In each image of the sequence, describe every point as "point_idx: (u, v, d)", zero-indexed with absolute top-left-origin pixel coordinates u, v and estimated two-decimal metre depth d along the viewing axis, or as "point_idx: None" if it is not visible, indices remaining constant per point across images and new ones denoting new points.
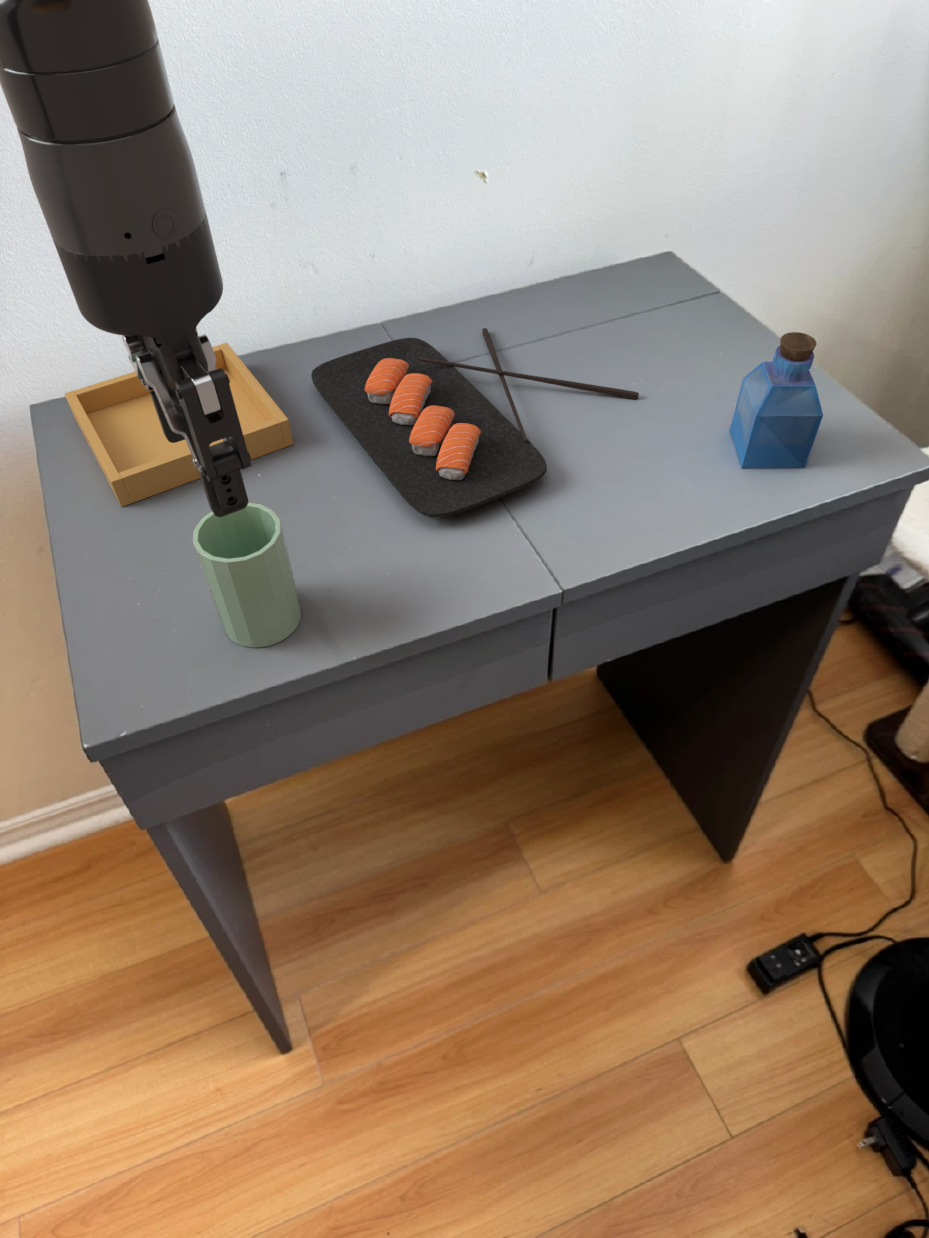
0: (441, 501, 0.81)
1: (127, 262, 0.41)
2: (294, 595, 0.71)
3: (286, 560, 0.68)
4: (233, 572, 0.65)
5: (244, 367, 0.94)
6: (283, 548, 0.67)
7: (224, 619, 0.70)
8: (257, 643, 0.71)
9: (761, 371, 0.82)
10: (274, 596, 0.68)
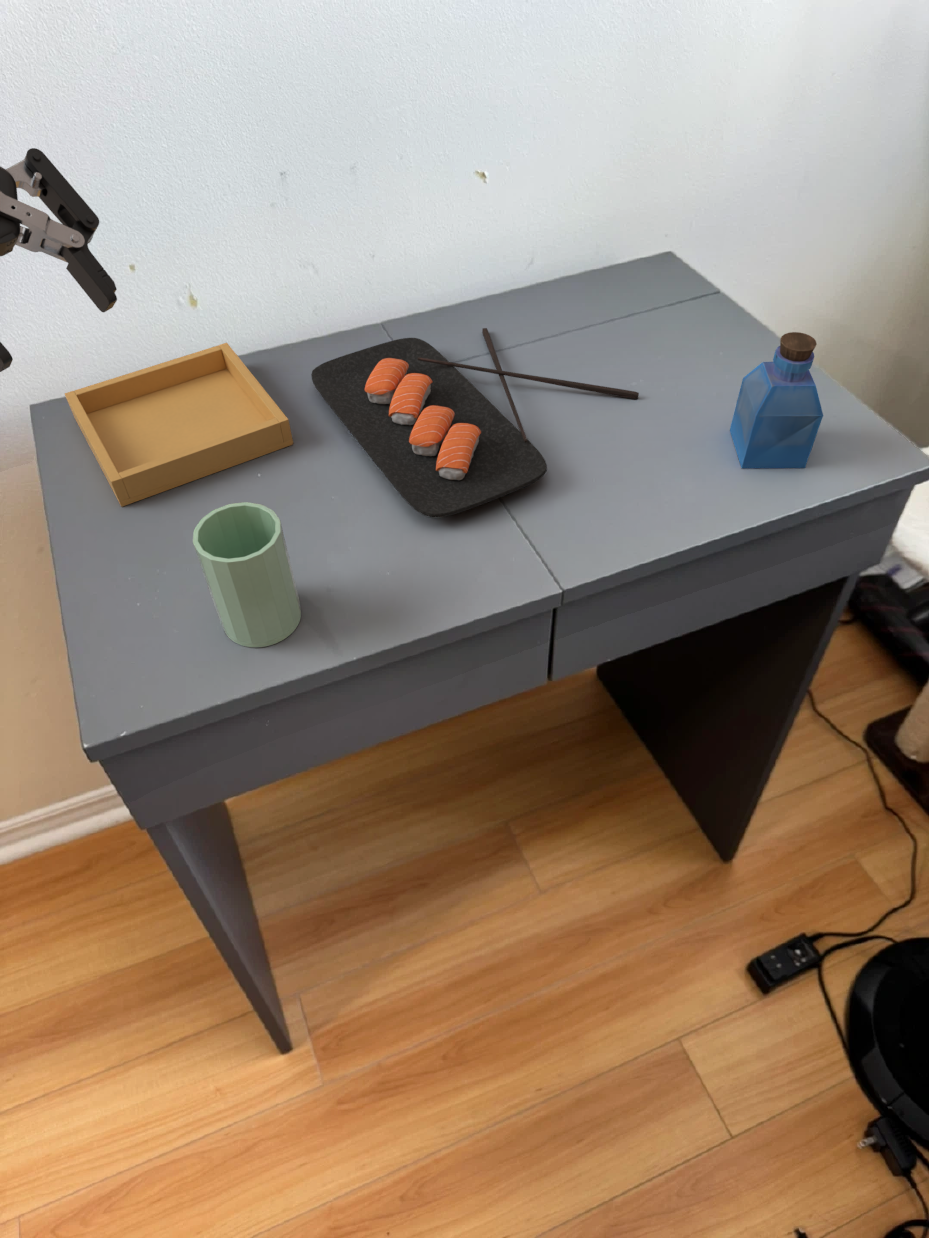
0: (441, 501, 0.81)
1: None
2: (294, 595, 0.71)
3: (286, 560, 0.68)
4: (233, 572, 0.65)
5: (244, 367, 0.94)
6: (283, 548, 0.67)
7: (224, 619, 0.70)
8: (257, 643, 0.71)
9: (761, 371, 0.82)
10: (274, 596, 0.68)
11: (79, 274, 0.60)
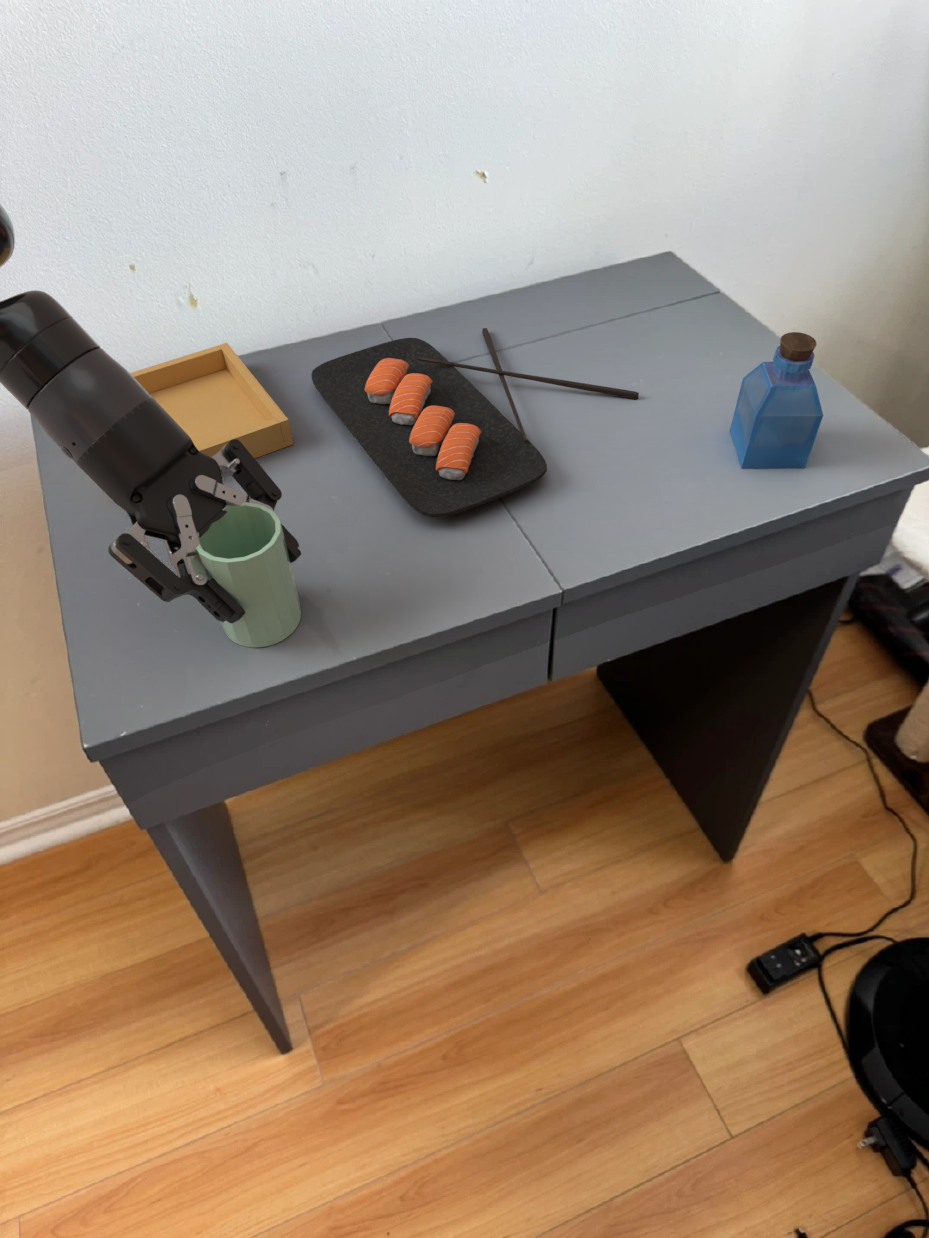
0: (441, 501, 0.81)
1: None
2: (294, 595, 0.71)
3: (286, 560, 0.68)
4: (233, 572, 0.65)
5: (244, 367, 0.94)
6: (283, 548, 0.67)
7: None
8: (257, 643, 0.71)
9: (761, 371, 0.82)
10: (274, 596, 0.68)
11: None
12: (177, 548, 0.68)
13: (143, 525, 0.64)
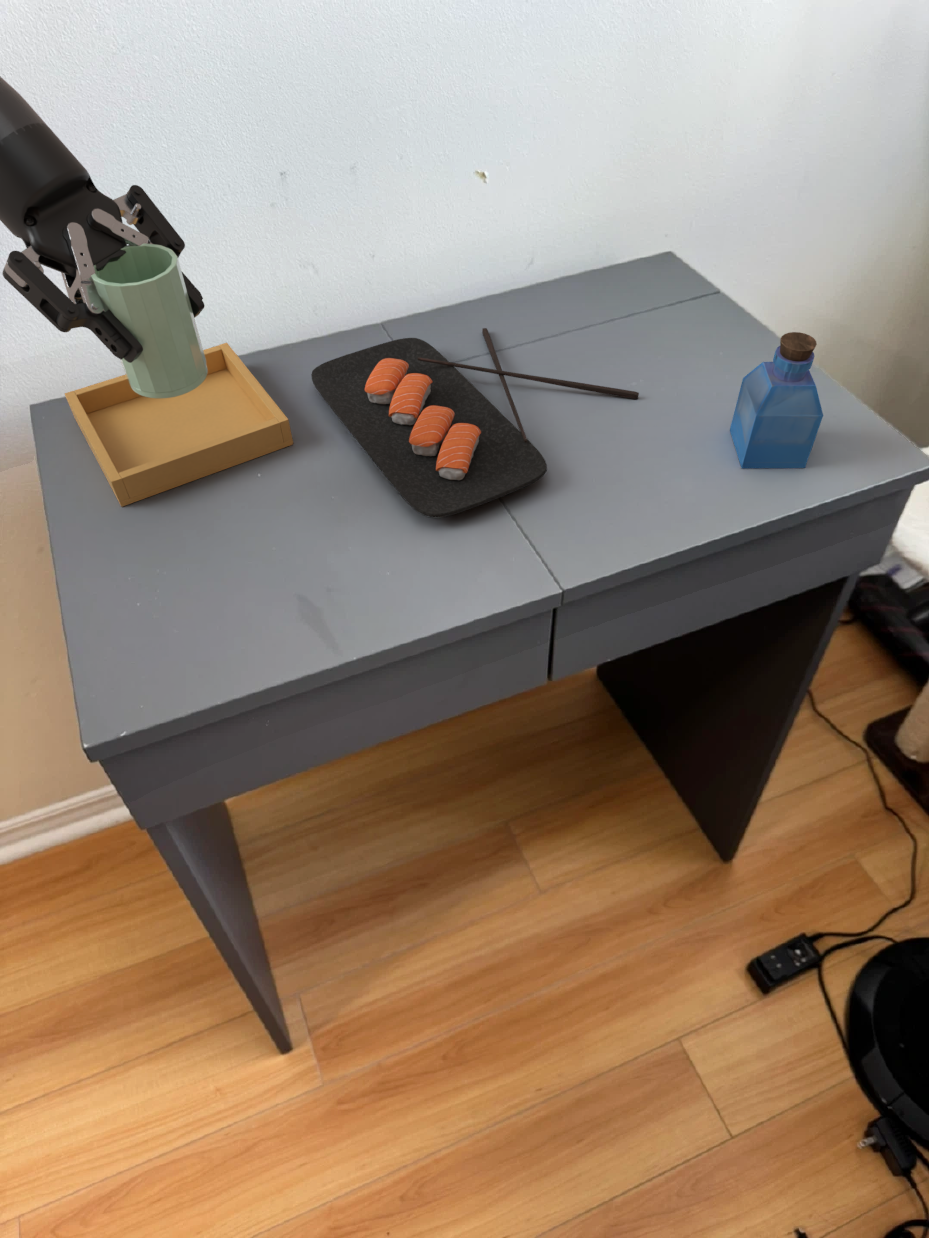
0: (441, 501, 0.81)
1: None
2: (197, 345, 0.72)
3: (185, 300, 0.69)
4: (127, 299, 0.66)
5: (244, 367, 0.94)
6: (180, 285, 0.68)
7: (126, 365, 0.71)
8: (160, 392, 0.72)
9: (761, 371, 0.82)
10: (173, 336, 0.69)
11: None
12: None
13: (37, 249, 0.65)
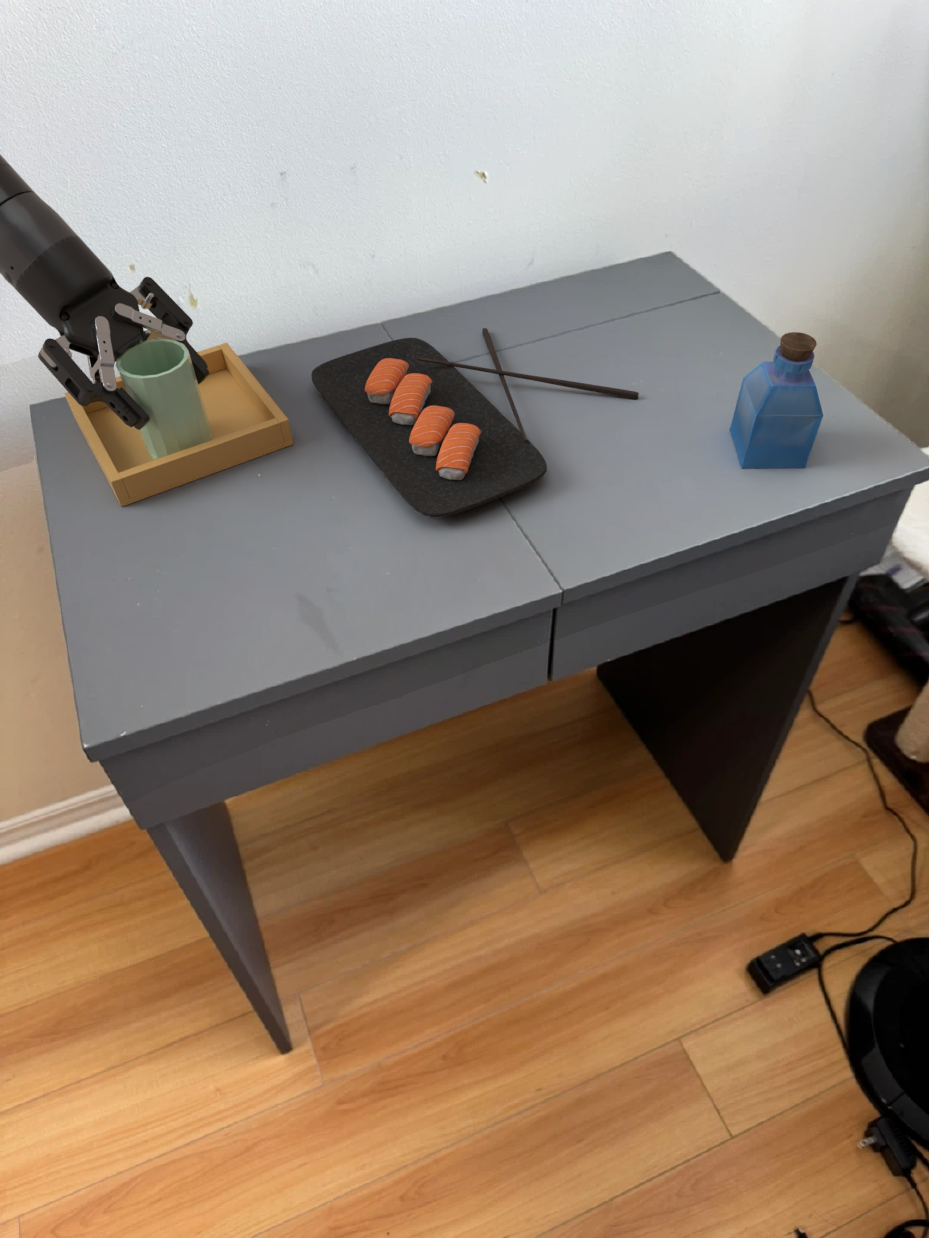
0: (441, 501, 0.81)
1: None
2: (204, 420, 0.86)
3: (194, 386, 0.83)
4: (148, 388, 0.80)
5: (244, 367, 0.94)
6: (191, 374, 0.82)
7: (145, 438, 0.85)
8: None
9: (761, 371, 0.82)
10: (185, 415, 0.84)
11: None
12: None
13: (70, 339, 0.79)
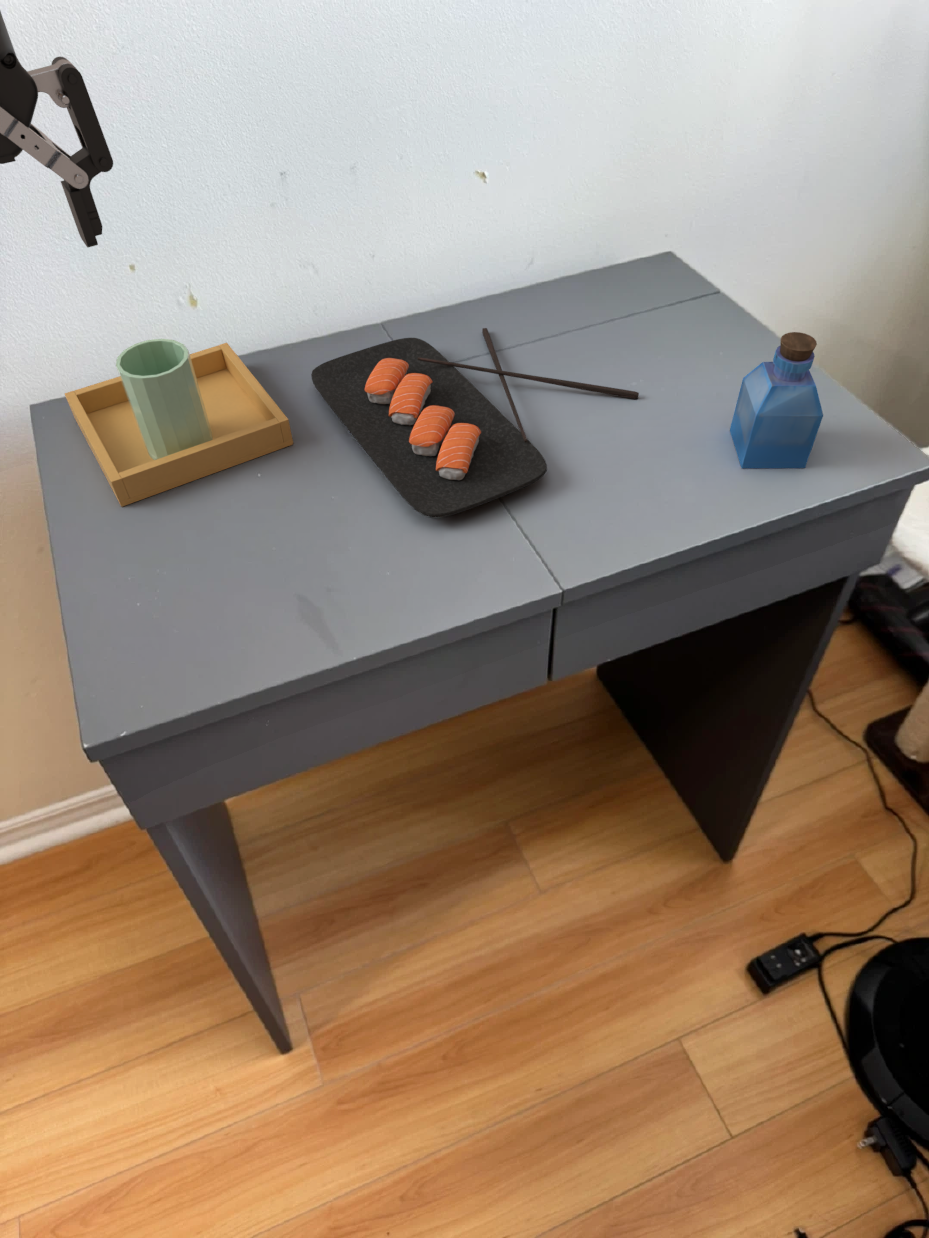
0: (441, 501, 0.81)
1: None
2: (204, 420, 0.86)
3: (194, 386, 0.83)
4: (148, 388, 0.80)
5: (244, 367, 0.94)
6: (191, 374, 0.82)
7: (145, 438, 0.85)
8: None
9: (762, 371, 0.82)
10: (185, 415, 0.84)
11: (70, 202, 0.57)
12: None
13: None
